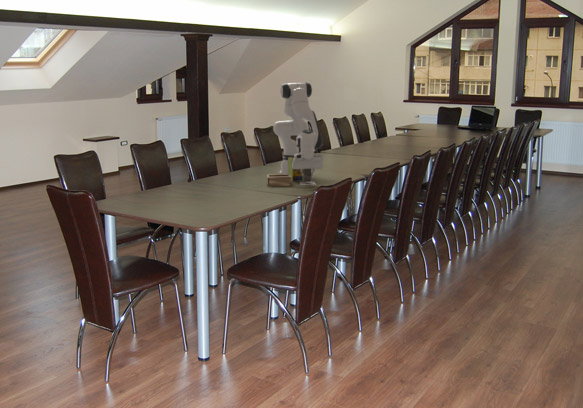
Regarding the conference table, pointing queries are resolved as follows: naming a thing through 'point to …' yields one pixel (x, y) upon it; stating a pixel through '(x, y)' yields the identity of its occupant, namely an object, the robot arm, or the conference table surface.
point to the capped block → (307, 175)
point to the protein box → (294, 171)
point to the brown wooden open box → (279, 180)
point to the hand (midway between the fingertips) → (307, 175)
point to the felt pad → (308, 183)
